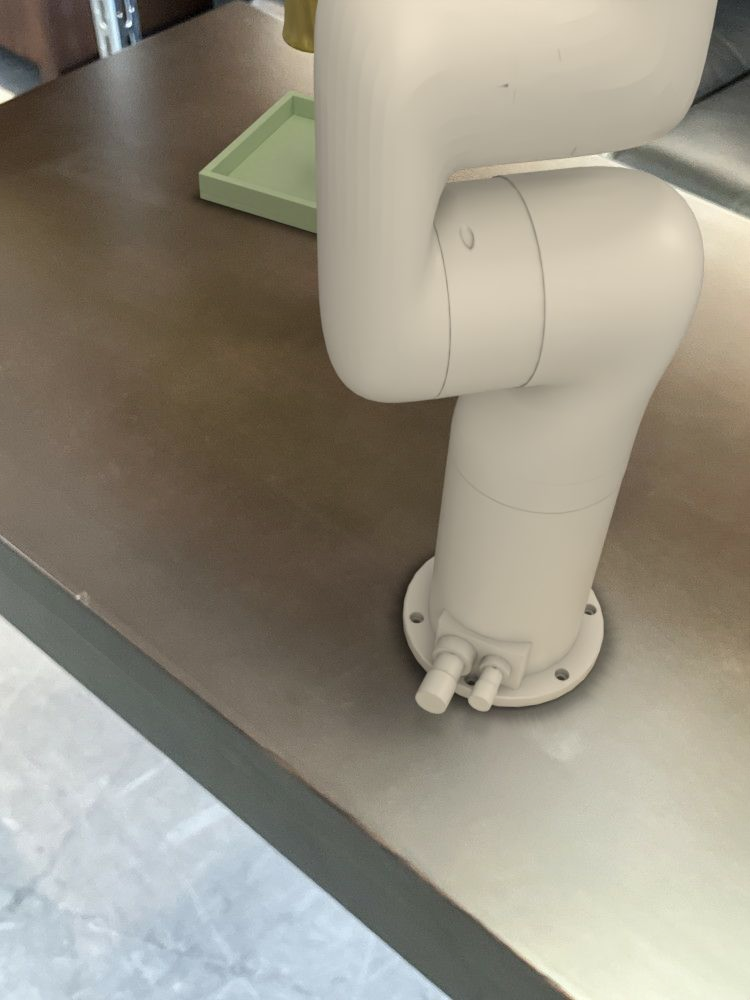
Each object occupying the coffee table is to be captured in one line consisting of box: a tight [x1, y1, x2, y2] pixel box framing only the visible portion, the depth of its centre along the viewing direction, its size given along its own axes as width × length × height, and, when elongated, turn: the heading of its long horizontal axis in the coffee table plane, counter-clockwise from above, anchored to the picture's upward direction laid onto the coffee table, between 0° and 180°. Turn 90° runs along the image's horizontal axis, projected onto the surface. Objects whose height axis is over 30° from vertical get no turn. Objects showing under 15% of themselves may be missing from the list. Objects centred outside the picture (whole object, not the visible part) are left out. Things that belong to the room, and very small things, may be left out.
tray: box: [198, 89, 317, 235], centre depth 107 cm, size 18×16×3 cm
